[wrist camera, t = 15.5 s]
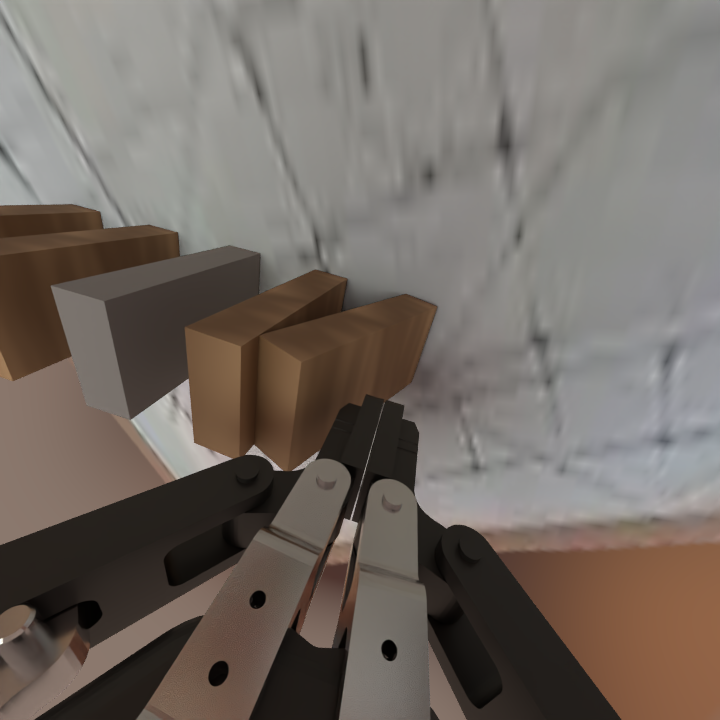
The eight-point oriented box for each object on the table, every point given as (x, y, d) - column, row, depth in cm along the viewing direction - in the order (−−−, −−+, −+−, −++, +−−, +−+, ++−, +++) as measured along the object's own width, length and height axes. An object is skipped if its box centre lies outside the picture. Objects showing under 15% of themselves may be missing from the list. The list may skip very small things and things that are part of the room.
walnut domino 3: (347, 278, 18) (240, 346, 9) (333, 353, 20) (239, 461, 12) (315, 269, 18) (184, 327, 10) (305, 344, 21) (194, 442, 12)
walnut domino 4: (437, 306, 17) (301, 362, 9) (411, 382, 19) (287, 474, 12) (406, 293, 18) (258, 335, 10) (385, 367, 20) (254, 444, 13)
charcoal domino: (230, 321, 21) (86, 405, 13) (229, 245, 19) (50, 285, 10) (257, 328, 21) (130, 419, 12) (260, 253, 19) (104, 301, 10)
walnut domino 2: (177, 232, 19) (-38, 260, 11) (184, 308, 22) (13, 381, 13) (148, 224, 19) (-86, 245, 11) (158, 300, 22) (-27, 367, 13)
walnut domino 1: (99, 211, 20) (-166, 222, 11) (114, 287, 22) (-94, 344, 14) (72, 204, 20) (-209, 209, 11) (90, 280, 22) (-131, 332, 14)
